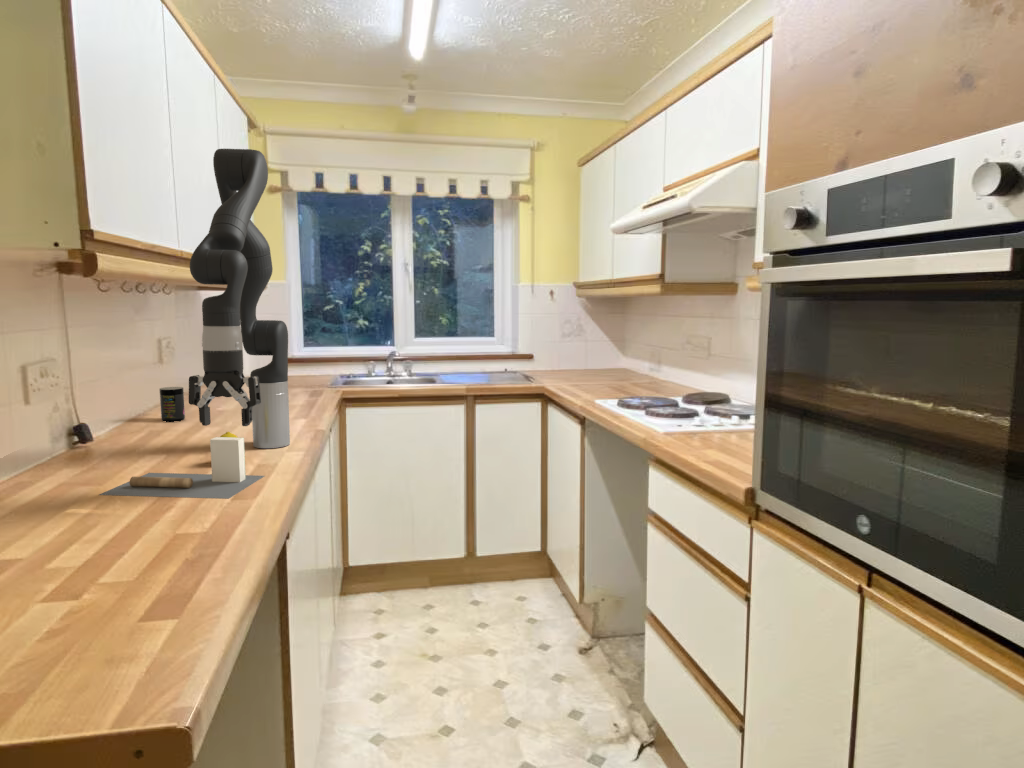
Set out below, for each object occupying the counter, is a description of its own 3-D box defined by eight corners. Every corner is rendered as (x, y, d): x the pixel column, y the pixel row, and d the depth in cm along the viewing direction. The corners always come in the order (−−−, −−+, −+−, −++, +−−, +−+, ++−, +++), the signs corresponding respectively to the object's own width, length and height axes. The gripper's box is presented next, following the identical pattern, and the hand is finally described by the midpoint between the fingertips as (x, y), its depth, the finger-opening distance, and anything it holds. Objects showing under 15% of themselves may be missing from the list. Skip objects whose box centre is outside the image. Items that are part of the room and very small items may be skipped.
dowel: (136, 484, 129) (135, 475, 129) (193, 486, 128) (192, 476, 128) (129, 487, 127) (129, 478, 127) (187, 489, 127) (187, 479, 126)
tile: (218, 478, 135) (216, 437, 133) (245, 478, 134) (243, 437, 133) (212, 481, 132) (210, 439, 131) (240, 482, 132) (238, 440, 131)
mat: (149, 475, 138) (149, 472, 138) (265, 478, 137) (265, 475, 137) (98, 497, 122) (98, 494, 122) (228, 501, 121) (228, 498, 121)
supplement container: (186, 421, 199) (184, 388, 197) (161, 423, 195) (159, 390, 194) (184, 418, 205) (182, 386, 203) (160, 419, 201) (159, 387, 200)
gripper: (264, 347, 133) (267, 422, 135) (199, 346, 134) (202, 421, 136) (248, 349, 126) (251, 429, 127) (178, 348, 126) (182, 428, 128)
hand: (226, 425), depth 132 cm, fingers open, 8 cm apart
